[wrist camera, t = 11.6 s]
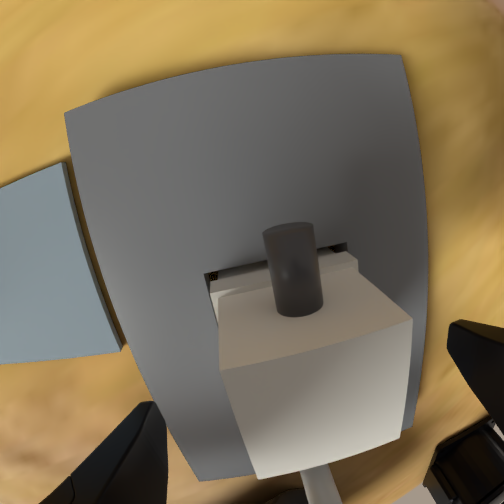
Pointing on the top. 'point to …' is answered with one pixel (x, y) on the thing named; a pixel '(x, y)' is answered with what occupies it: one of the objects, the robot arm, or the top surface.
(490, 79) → the top surface
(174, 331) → the socket block
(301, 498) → the muzzle brake
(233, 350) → the plug
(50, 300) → the mat
